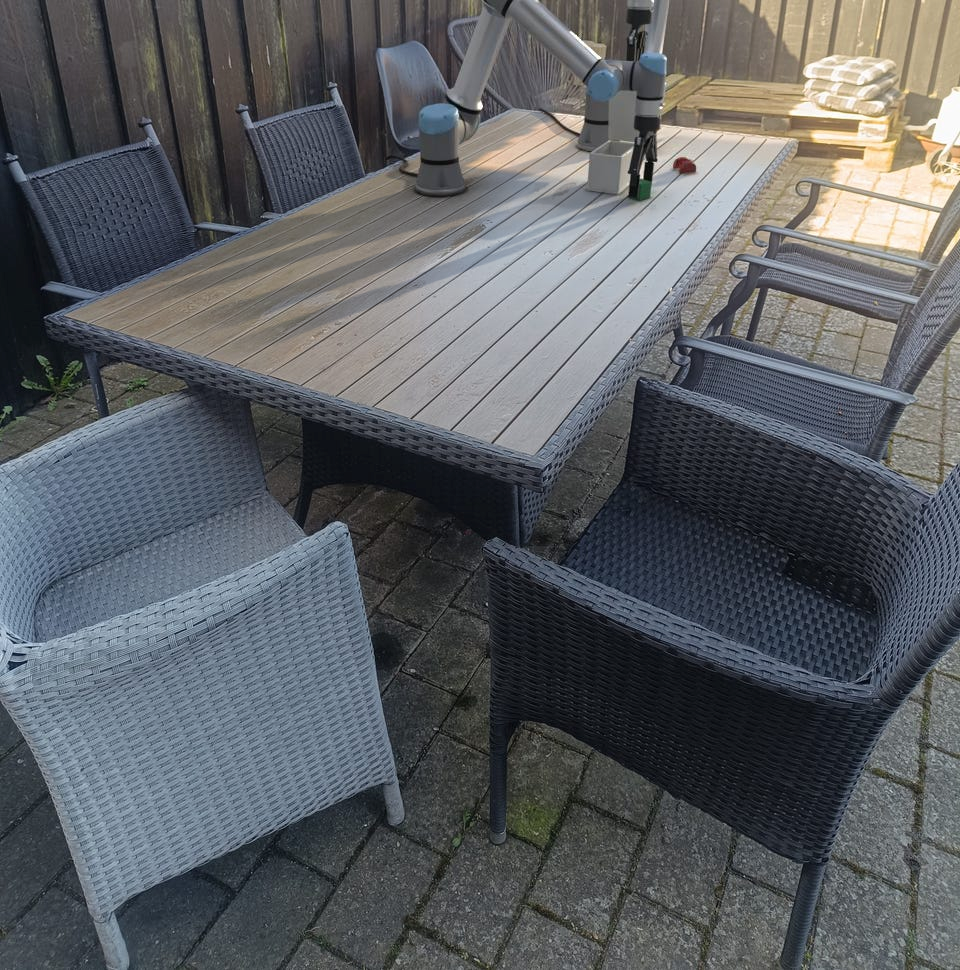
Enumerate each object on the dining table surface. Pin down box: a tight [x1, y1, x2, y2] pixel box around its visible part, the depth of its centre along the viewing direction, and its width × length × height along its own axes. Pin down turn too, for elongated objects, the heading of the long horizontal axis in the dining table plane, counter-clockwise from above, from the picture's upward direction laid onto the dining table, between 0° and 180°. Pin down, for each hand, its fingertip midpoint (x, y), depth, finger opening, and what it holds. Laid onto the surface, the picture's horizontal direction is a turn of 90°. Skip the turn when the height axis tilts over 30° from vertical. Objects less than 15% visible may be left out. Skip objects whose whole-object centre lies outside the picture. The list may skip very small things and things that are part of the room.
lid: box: [608, 90, 640, 143], centre depth 258 cm, size 18×10×9 cm
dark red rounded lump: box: [672, 156, 697, 174], centre depth 274 cm, size 6×4×8 cm
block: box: [627, 178, 653, 201], centre depth 251 cm, size 5×5×5 cm
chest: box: [586, 140, 636, 195], centre depth 259 cm, size 17×10×11 cm, turn 154°
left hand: (640, 190), depth 251 cm, fingers open, 13 cm apart
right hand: (631, 95), depth 258 cm, fingers closed on lid, 2 cm apart
